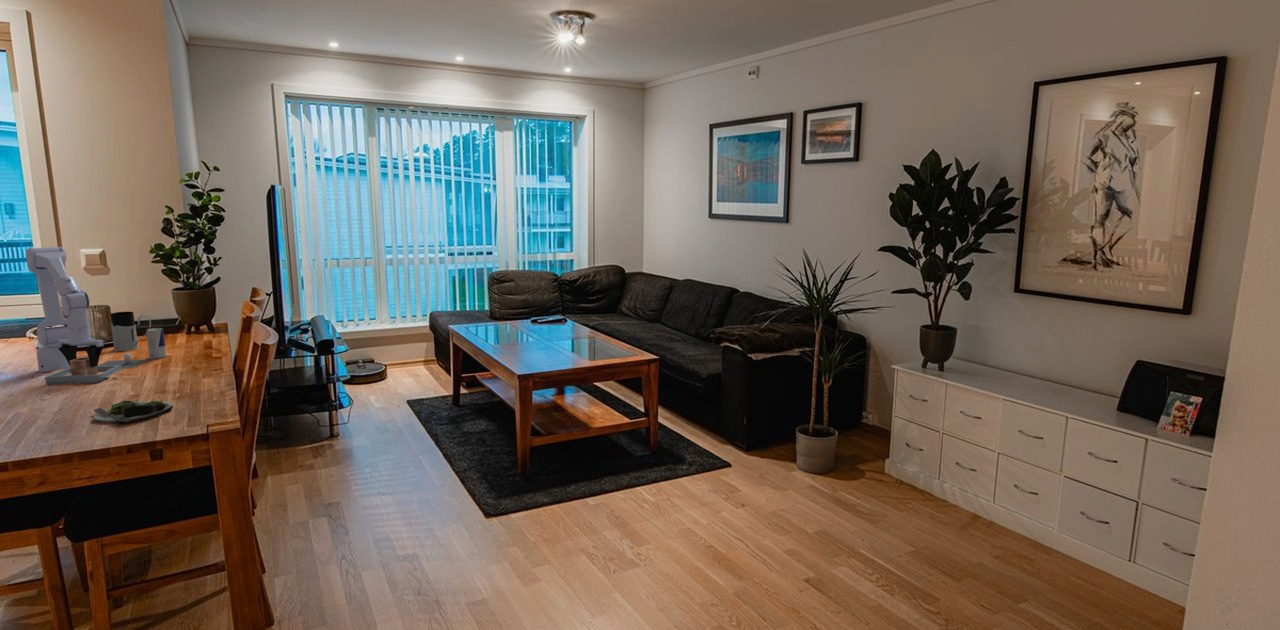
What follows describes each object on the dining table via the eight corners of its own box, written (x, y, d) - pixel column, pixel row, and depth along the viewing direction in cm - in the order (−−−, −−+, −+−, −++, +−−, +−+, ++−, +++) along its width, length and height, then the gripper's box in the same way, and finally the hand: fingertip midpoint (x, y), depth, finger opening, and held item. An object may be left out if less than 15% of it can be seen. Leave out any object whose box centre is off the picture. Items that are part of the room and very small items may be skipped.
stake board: (88, 372, 245) (86, 360, 244) (109, 363, 259) (108, 351, 258) (132, 370, 248) (131, 358, 247) (151, 361, 261) (150, 350, 261)
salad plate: (70, 424, 193) (67, 408, 192) (124, 405, 210) (122, 390, 209) (133, 427, 190) (131, 411, 190) (182, 408, 208) (180, 393, 207)
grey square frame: (46, 384, 230) (45, 377, 229) (70, 373, 243) (69, 367, 243) (100, 382, 233) (99, 375, 233) (122, 371, 246) (121, 365, 246)
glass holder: (119, 347, 285) (114, 311, 282) (158, 345, 288) (154, 310, 285) (108, 352, 276) (104, 315, 274) (149, 350, 280) (144, 314, 277)
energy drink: (169, 358, 267) (166, 328, 265) (159, 361, 262) (155, 330, 260) (157, 357, 267) (153, 327, 265) (146, 361, 262) (142, 330, 260)
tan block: (71, 377, 236) (69, 360, 234) (88, 372, 242) (85, 356, 241) (86, 377, 235) (83, 360, 234) (101, 372, 242) (99, 356, 241)
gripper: (108, 325, 239) (113, 363, 241) (68, 324, 239) (73, 362, 242) (91, 329, 232) (96, 368, 234) (50, 328, 232) (55, 367, 235)
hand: (83, 366), depth 237 cm, fingers open, 7 cm apart
